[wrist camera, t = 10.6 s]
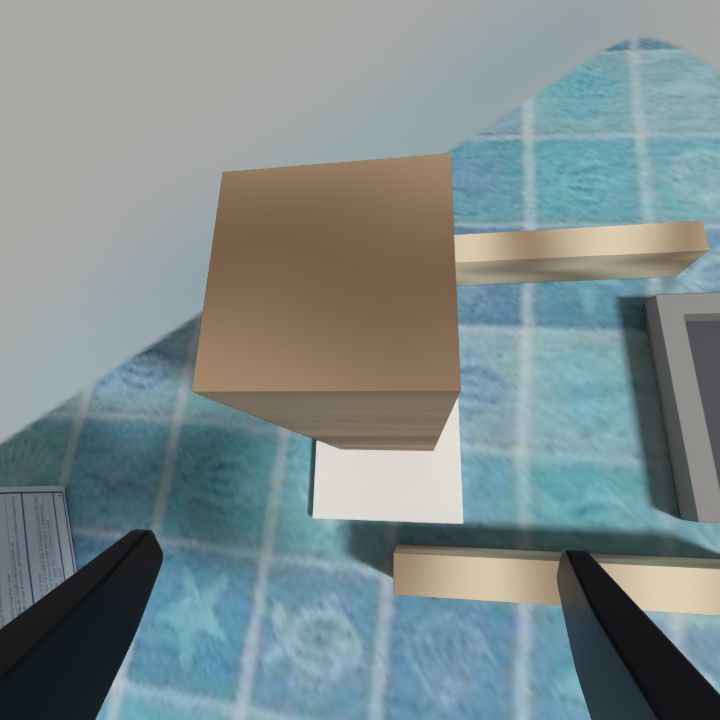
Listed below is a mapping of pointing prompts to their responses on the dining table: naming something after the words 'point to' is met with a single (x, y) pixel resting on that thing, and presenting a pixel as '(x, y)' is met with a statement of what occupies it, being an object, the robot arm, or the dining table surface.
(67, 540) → the medicine box
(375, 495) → the pad
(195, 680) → the dining table surface
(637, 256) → the channel
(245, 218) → the walnut block
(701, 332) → the tray
